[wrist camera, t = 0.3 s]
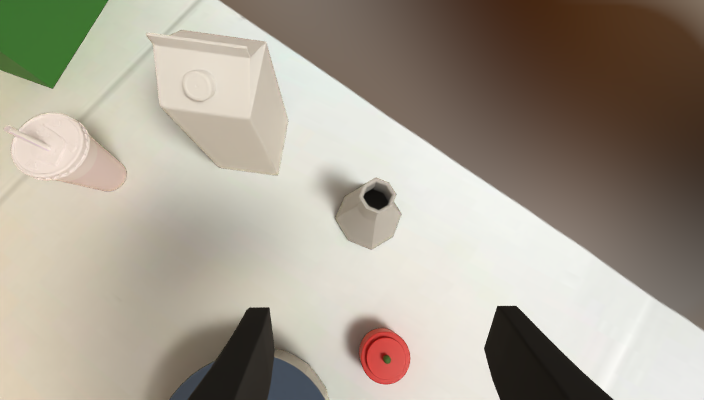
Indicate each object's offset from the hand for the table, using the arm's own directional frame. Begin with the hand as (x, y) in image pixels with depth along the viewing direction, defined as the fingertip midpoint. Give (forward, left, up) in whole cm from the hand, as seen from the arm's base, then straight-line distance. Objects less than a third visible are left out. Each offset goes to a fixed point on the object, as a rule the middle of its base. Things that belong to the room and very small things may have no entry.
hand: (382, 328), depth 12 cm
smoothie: (+12, +28, -30) cm, 43 cm away
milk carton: (+17, +12, -30) cm, 37 cm away
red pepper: (-5, -4, -30) cm, 30 cm away
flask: (+9, -2, -30) cm, 31 cm away
